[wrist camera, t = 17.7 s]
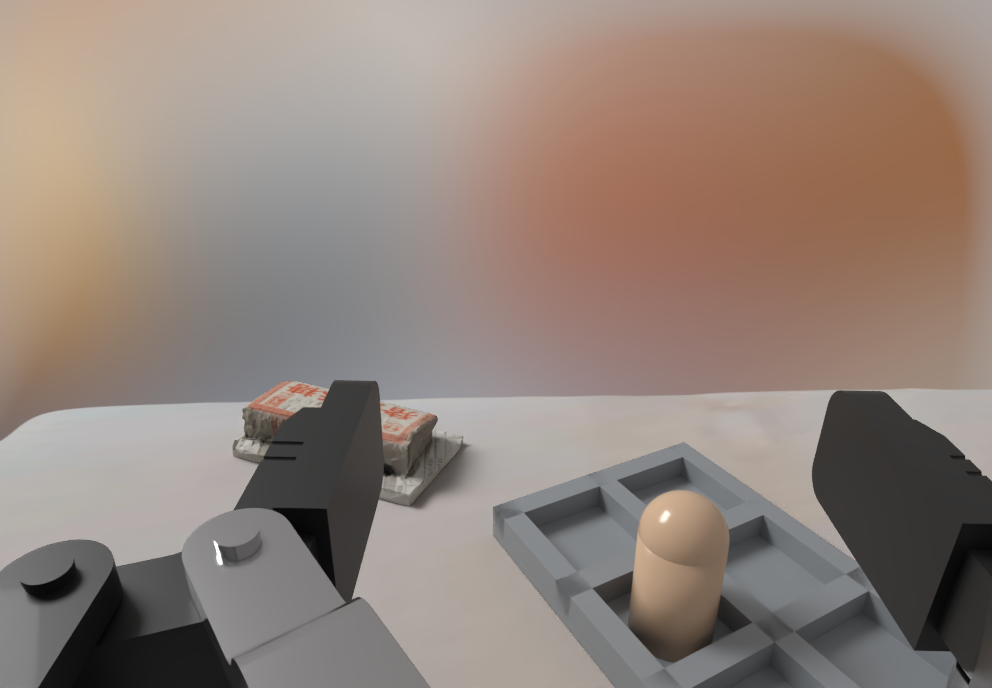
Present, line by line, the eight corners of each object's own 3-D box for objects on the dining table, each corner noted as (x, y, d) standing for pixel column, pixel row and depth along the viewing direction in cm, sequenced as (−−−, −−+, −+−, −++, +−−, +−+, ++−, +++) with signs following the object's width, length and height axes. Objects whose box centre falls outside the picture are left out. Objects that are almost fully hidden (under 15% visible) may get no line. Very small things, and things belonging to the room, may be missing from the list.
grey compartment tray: (493, 535, 50) (493, 506, 49) (680, 468, 58) (684, 442, 57) (783, 896, 30) (794, 860, 28) (1014, 715, 37) (1029, 681, 36)
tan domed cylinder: (611, 615, 43) (623, 488, 39) (672, 586, 45) (689, 463, 41) (666, 675, 39) (686, 539, 35) (731, 640, 41) (756, 510, 37)
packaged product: (219, 412, 58) (294, 364, 66) (228, 461, 60) (300, 408, 68) (407, 460, 51) (464, 401, 60) (410, 513, 53) (465, 448, 62)
